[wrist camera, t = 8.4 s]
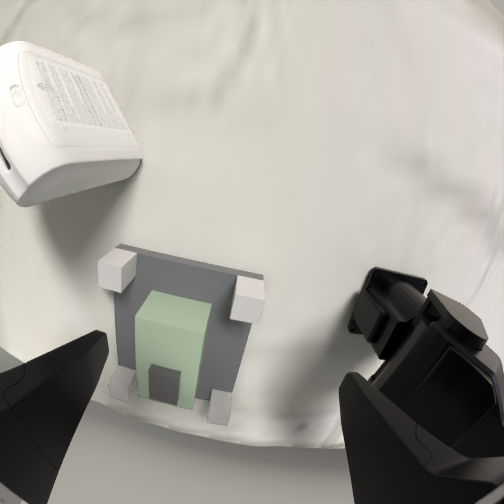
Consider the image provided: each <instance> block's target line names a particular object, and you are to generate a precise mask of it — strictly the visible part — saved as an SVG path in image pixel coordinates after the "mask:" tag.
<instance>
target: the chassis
mask: <svg viewBox="0 0 504 504" xmlns="http://www.w3.org/2000/svg"><path fill="white" fill-rule="evenodd" d="M97 275H98V286H99V287H102V288H105V289H109V290H112V291H114V303H115V327H116V342H117V354H118V364H119V365H118V367H117V369H116V371H115V373H114V375H113V376H112V378H111V380H110V382H109V384H108V385H109V391H110V396H111V397H113V398H116V399H119V400H122V401H125V402H128V403H129V400H130V398H131V396H132V393H133V391H134V388H135V386H136V384H137V374H136V353H135V315H136V314H137V312H138V311H139V309H140V308H141V306H142V305H143V303H144V302H145V300H146V299H147V297H148V296H149V294H150V293H151V291H152V290H154V291H158V292H162V293H166V294H170V295H174V296H178V297H183V298H187V299H192V300H196V301H201V302H205V303H210V304H212V306H211V311H210V317H209V322H208V328H207V334H206V339H205V345H204V351H203V357H202V363H201V369H200V375H199V381H198V386H197V391H196V396H195V398H199V399H204V400H209V401H210V403H209V410H208V417H207V422H208V423H213V424H219V425H226V426H227V424H228V421H229V418H230V414H231V400H232V391H233V388H234V384H235V381H236V377H237V374H238V370H239V367H240V363H241V360H242V356H243V353H244V349H245V346H246V342H247V339H248V335H249V332H250V328H251V324H252V323H254V324H259V320H260V317H261V313H262V310H263V306H264V303H265V291H264V281H263V275H260V274H255V273H250V272H246V271H241V270H236V269H231V268H227V267H222V266H217V265H212V264H208V263H203V262H198V261H194V260H189V259H185V258H180V257H176V256H171V255H167V254H162V253H158V252H153V251H149V250H145V249H140V248H136V247H132V246H127V245H123V244H119V245H118V246H117V247H115V248H114V249H113V250H111V251H110V252H109V253H108V254H106V255H105V256H104V257H102V258H101V259H100V260H99V261H97Z"/></svg>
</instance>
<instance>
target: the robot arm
mask: <svg viewBox="0 0 504 504" xmlns="http://www.w3.org/2000/svg"><path fill="white" fill-rule="evenodd" d="M376 272H378V274H377V275H375V273H376ZM422 283H423V284H422ZM421 284H422V285H421ZM427 284H428V283H427V280H425V279H424V278H421V277H417V276H413V275H409V274H404V273H400V272H396V271H392V270H387V269H383V268H379V267H375V268H373V269H372V270H371V272H370V274H369V277H368V280H367V282H366V285H365V287H364V289H363V290H362V291H361V294H360V296H359V299H358V301H357V303H356V306H355V308H354V311H353V313H352V318H351V320H350V322H349V325H348V330H349V332H350V333H353V334H362V335H364V337H365V339H366V341H367V342H368V343H371V345H372V347H373V349H374V351H375V352H376V354H377V356H378V358H379V359H380V360H385V361H384V362H383V364H382V365H381V366H380V368H379V369H378V370H377V371H376V373H375V374H374V375H372V376H371V377H370V378H369V379H368V381H367V380H366V379H365V378H364V377H363V376H361V375H360V374H359V373H357V372H349V373H347V374H346V376H345V378H344V379H343V381H342V383H341V385H340V387H339V402H340V415H341V426H342V431H343V437H344V442H345V447H346V453H347V459H348V464H349V470H350V476H351V482H352V489H353V496H354V502H355V504H504V372H503V367H502V363H501V360H500V358H499V356H498V355H497V354H496V353H495V352H494V351H492V350H491V349H490V348H489V347H488V346H487V345H486V344H485V343H486V342H487V340H488V336H487V333H486V331H485V328H484V326H483V323H482V321H481V319H480V318H479V317H478V316H477V315H475V314H474V313H473V312H472V311H470V310H469V309H468V308H467V307H465V306H464V305H463V304H461V303H459V302H457V301H455V300H453V299H451V298H449V297H447V296H445V295H443V294H441V293H439V292H436V291H434V290H432V289H430V291H429V293H428V294H427V296H428V297H427V298H426V297H425V296H423V293H424V291H425V289H426V287H427ZM352 327H354V328H353V329H352ZM108 353H109V347H108V340H107V335H106V333H105V332H102V331H99V330H95V331H92V332H90V333H88V334H86V335H84V336H82V337H80V338H78V339H75V340H73V341H71V342H69V343H67V344H65V345H63V346H60V347H58V348H56V349H54V350H52V351H50V352H48V353H45V354H43V355H41V356H39V357H37V358H35V359H32V360H30V361H28V362H26V363H24V364H22V365H20V366H17V367H15V368H12V369H10V370H8V371H5V372H2V373H0V504H20V503H21V501H22V500H23V501H25V502H26V503H28V504H47V502H48V500H49V497H50V493H51V491H52V488H53V485H54V483H55V480H56V477H57V475H58V471H59V469H60V467H61V464H62V461H63V459H64V457H65V454H66V452H67V449H68V447H69V445H70V442H71V440H72V437H73V435H74V433H75V431H76V428H77V426H78V424H79V422H80V420H81V418H82V416H83V413H84V411H85V409H86V407H87V405H88V403H89V401H90V399H91V397H92V395H93V393H94V391H95V389H96V386H97V384H98V381H99V378H100V375H101V373H102V370H103V367H104V365H105V362H106V359H107V357H108Z"/></svg>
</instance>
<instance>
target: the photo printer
mask: <svg viewBox="0 0 504 504" xmlns="http://www.w3.org/2000/svg"><path fill="white" fill-rule="evenodd" d="M142 159H143V155H142V152H141V149H140V146H139V144H138V142H137V139H136V137H135V136H134V133H133V131H132V129H131V128H130V126H129V124H128V122H127V120H126V118H125V116H124V114H123V112H122V110H121V108H120V107H119V105H118V103H117V101H116V99H115V97H114V95H113V93H112V91H111V90H110V88H109V86H108V84H107V83H106V81H105V79H104V78H103V77H102V76H101V74H100V73H99V72H97V71H96V70H95V69H93V68H90V67H88V66H86V65H83V64H81V63H79V62H76V61H74V60H72V59H69V58H67V57H65V56H62V55H59V54H57V53H54V52H52V51H50V50H47V49H44V48H42V47H39V46H36V45H33V44H31V43H28V42H24V41H15V42H11V43H7V44H5V45H2V46H1V47H0V184H1V186H2V187H3V189H4V190H5V191H6V192H7V194H8V195H9V196H10V197H11V198H12V199H13V200H14V202H15V203H16V204H17V205H19V206H20V207H30V206H33V205H36V204H39V203H42V202H46V201H49V200H53V199H56V198H59V197H62V196H66V195H70V194H73V193H77V192H80V191H84V190H88V189H92V188H96V187H100V186H103V185H107V184H110V183H113V182H117V181H121V180H125V179H127V178H129V177H130V176H131V175H132V174H133V173H134V172H135V171H136V170H137V168H138V166H139V164H140V160H142Z"/></svg>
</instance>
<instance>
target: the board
mask: <svg viewBox="0 0 504 504" xmlns="http://www.w3.org/2000/svg"><path fill="white" fill-rule="evenodd" d="M211 306H212V304H210V303H205V302H201V301H196V300H192V299H187V298H183V297H178V296H174V295H170V294H166V293H162V292H158V291H154V290H152V291H151V293H150V294H149V296H148V297H147V299H146V300H145V302H144V303H143V305H142V306H141V308H140V309H139V311H138V312H137V314H136V315H135V353H136V374H137V388H138V396H140V397H143V398H147V399H150V400H154V401H158V402H161V403H165V404H169V405H173V406H177V407H182V408H186V409H191V410H193V406H194V401H195V396H196V391H197V386H198V381H199V375H200V369H201V363H202V357H203V351H204V345H205V339H206V334H207V328H208V322H209V317H210V311H211Z"/></svg>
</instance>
